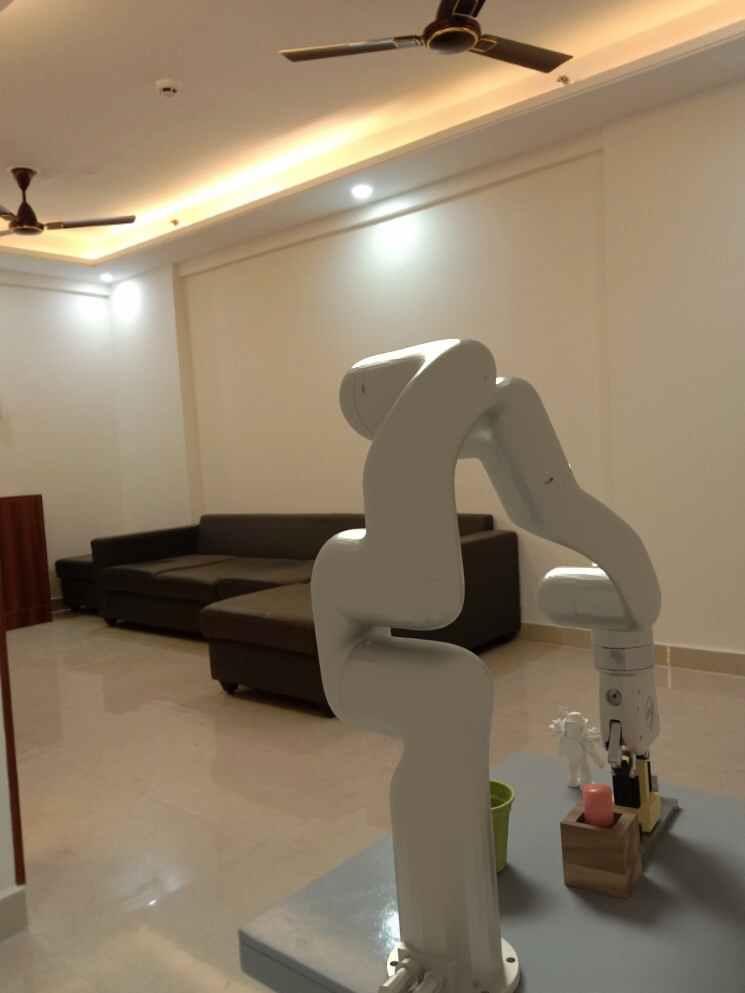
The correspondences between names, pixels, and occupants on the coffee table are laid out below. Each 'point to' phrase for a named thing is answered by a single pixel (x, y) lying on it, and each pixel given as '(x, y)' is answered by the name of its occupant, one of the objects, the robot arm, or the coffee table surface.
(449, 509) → the robot arm
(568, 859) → the wooden box
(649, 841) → the rail
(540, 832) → the coffee table surface
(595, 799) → the plunger
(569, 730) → the flower shoulder figurine
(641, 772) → the carriage
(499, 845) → the plant pot
